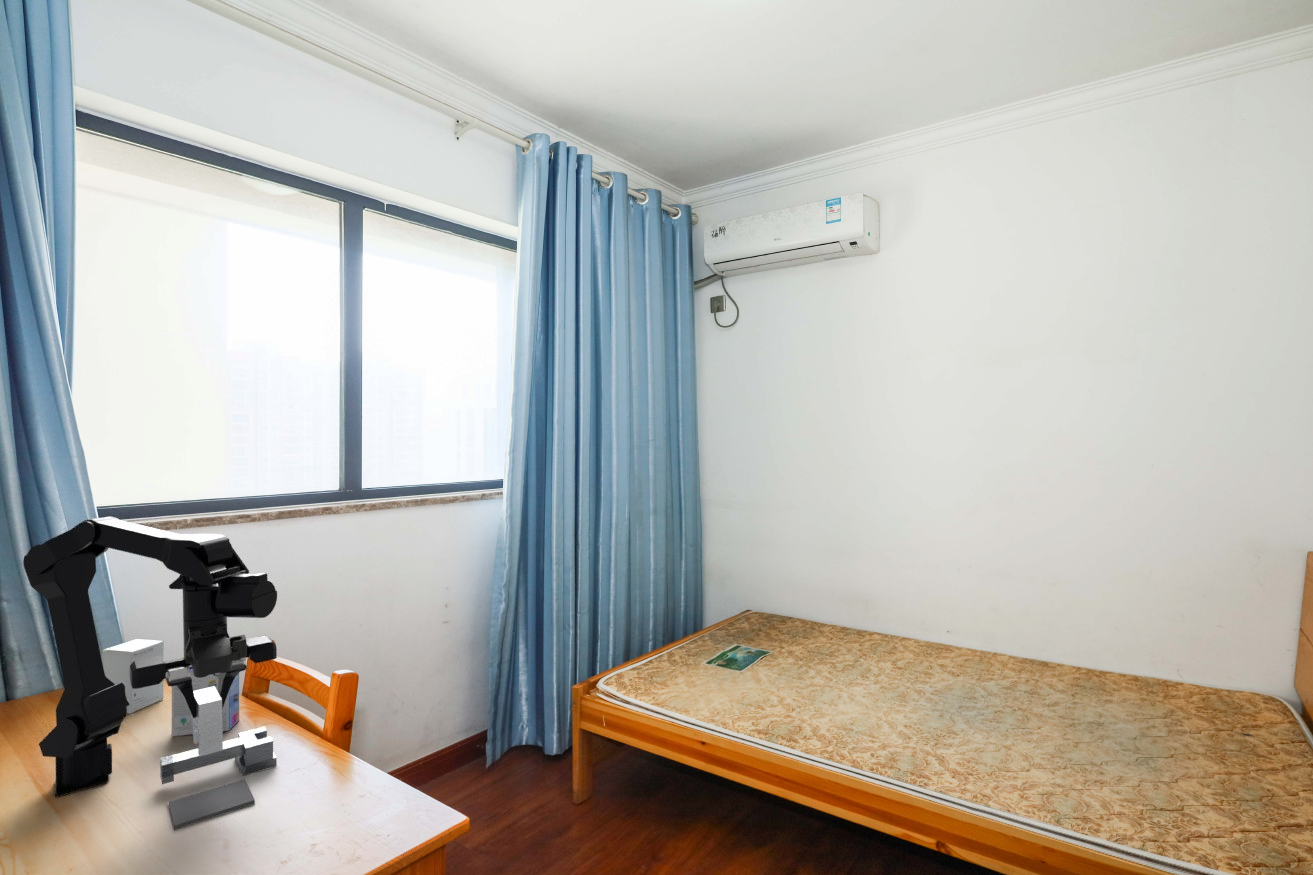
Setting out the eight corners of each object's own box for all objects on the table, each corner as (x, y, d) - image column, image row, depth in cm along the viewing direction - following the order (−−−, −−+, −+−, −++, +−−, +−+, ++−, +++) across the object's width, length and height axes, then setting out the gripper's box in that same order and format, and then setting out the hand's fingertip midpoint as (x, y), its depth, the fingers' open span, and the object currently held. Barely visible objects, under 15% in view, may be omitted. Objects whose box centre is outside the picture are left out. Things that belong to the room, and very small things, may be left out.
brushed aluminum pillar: (199, 756, 101) (198, 704, 101) (193, 740, 106) (192, 691, 106) (222, 749, 103) (221, 699, 103) (215, 734, 108) (214, 686, 108)
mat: (174, 829, 94) (174, 825, 94) (168, 805, 100) (168, 801, 100) (254, 803, 101) (254, 799, 101) (245, 782, 107) (245, 778, 107)
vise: (163, 799, 102) (163, 770, 102) (159, 780, 107) (159, 753, 107) (276, 765, 112) (276, 739, 112) (267, 750, 117) (267, 725, 117)
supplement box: (130, 714, 132) (130, 651, 131) (100, 711, 133) (100, 649, 133) (165, 699, 139) (164, 640, 139) (136, 696, 140) (136, 637, 140)
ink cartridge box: (241, 719, 130) (240, 646, 130) (230, 731, 125) (230, 655, 124) (183, 724, 127) (183, 650, 127) (170, 737, 122) (169, 659, 122)
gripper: (134, 641, 92) (136, 752, 92) (284, 614, 104) (285, 712, 104) (128, 623, 100) (130, 725, 100) (268, 601, 112) (269, 691, 113)
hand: (207, 713), depth 104 cm, fingers closed on brushed aluminum pillar, 3 cm apart
